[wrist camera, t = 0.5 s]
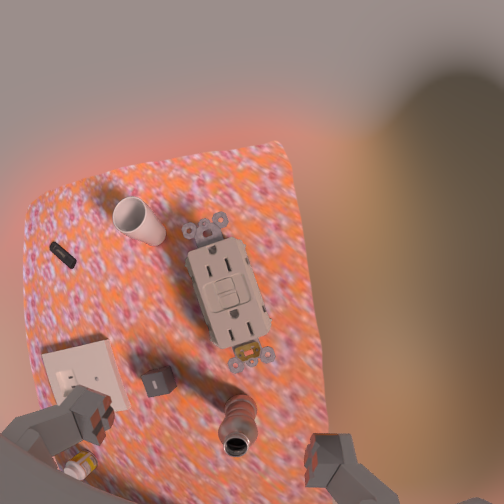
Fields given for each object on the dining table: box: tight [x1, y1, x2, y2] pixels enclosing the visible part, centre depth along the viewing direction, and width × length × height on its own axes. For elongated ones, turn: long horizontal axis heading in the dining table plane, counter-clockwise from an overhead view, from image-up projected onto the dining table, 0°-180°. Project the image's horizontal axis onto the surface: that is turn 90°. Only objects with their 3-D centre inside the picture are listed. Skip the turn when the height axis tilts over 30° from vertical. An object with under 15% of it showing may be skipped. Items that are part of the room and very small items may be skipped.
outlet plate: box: [42, 339, 131, 412], centre depth 56 cm, size 16×20×2 cm
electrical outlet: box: [182, 212, 276, 374], centre depth 56 cm, size 12×28×10 cm, turn 19°
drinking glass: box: [113, 196, 166, 246], centre depth 55 cm, size 7×7×15 cm
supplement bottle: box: [64, 450, 98, 480], centre depth 48 cm, size 6×6×10 cm
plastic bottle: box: [218, 394, 258, 457], centre depth 46 cm, size 6×7×20 cm
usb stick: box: [50, 242, 76, 269], centre depth 62 cm, size 10×3×2 cm, turn 59°
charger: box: [141, 366, 177, 397], centre depth 54 cm, size 5×5×6 cm
